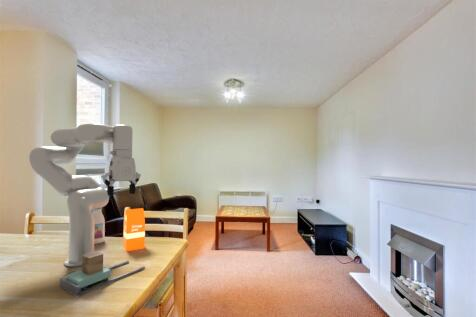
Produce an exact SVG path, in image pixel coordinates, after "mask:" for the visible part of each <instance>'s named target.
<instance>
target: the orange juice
mask: <svg viewBox="0 0 476 317" xmlns="http://www.w3.org/2000/svg"><path fill="white" fill-rule="evenodd" d="M144 211H145V210H144V207H142V208H139V207H138V208H130V209H125V212H124V220H123V248H124V250H125V251H126V252H129V251H130V252H131V251H135V250H143V249H145V242H146V241H145V239H146V219H145V212H144Z"/></svg>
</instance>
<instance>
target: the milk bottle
mask: <svg viewBox="0 0 476 317" xmlns="http://www.w3.org/2000/svg"><path fill="white" fill-rule="evenodd" d="M102 210H103V207H101V208H97V209H92V212H91V213H92V215H93V216H94V220H95V230H94V245H96V244H97V245H98V244H101V243H104V242H105V239H106V238H105V236H106V235H105V232H106V228H105V226H106V225H105V224H106V222H105V221H106V220H105V217H104V215H103V213H102Z"/></svg>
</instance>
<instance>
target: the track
mask: <svg viewBox="0 0 476 317" xmlns="http://www.w3.org/2000/svg"><path fill="white" fill-rule="evenodd" d="M129 263H130V261H129V260H125V261H122V262H120V263H117V264H114V265H110V266H109V267H106V268H107V269H110V270H111V271H112V269H116V268H119V267H122V266H124V265H127V264H129ZM145 269H146V267H145V266H141V267H138V268H135V269H133V270H131V271H128V272H125V273H122V274H121V275H118V276H115V277H112V278H111V279H108V280H107V281H105V282H102V281H101V282H100V283H98V284H95V285H93V286H90V287H86V289H85V290H82V291H81V286H80V285H78V284H77V283H75V282H73V281H71V280H69V279H67V278H66V276H63V277H60V278H59V287H60V288H61V289H63V290H65V291H66V292H68V293H69V294H72V295H73V296H74V297H79V296H81V295H85V294H87V293H89V292H92V291H94V290H96V289H99V288H101V287H103V286H107V285H109V284H112V283H113V282H116V281H118V280H121V279H123V278H126V277H128V276H131V275H134V274H135V273H138V272H141V271H143V270H145Z"/></svg>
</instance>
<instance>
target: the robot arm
mask: <svg viewBox="0 0 476 317" xmlns="http://www.w3.org/2000/svg"><path fill="white" fill-rule="evenodd" d="M133 133H134V132H133V127H132V126H130V125H126V124H116V125H114V126H112V125H109V124H108V125H107V124H102V123H83V124H80V125H78V126H75V127H67V128H66V127H65V128H58V129H55V130H54V131H53V132H52V133H51V135H50V141H51V143H53V144H54V145H56V146H47V145H44V146H43V145H42V146H37V147H35V148H33V149H31V151H30V152H29V154H28V155H29V157H28V159H29V163H30V166H31V168H32V169H33V171H34V172H35V173H36V174H37V175H38V176H40V177H41V178H42V179H44V180H45V181H46V182H47V183H48V184H49V185H50V186H51V187H52V188H53V189H54V190H55V191H56V192H57V193H58V194H59V195H61V196H63V197H67V198H66V199H67V200H66V205H67V211H68V217H69V218H68V219H69V225H68V226H69V228H68V229H69V230H68V231H69V232H68V258H66V259H65V260H64V261H63V264H64V266H66V267H70V268H71V267H72V268H73V267H82V255H85V254H88V253H92V252H95V244H94V230H95V220H94V216H93V215H92V213H93V212H92V211H93V209H97V208H101V207H102V208H103V207H106V206H107V204H108V203H109V202H110V201H109V200H110V197H114V195H115V194H114V193H115V187H114V184H115V183H116V182H129V183H130V184H129V188H128V192H129V194H131V195H135V194H136V185H137V184H138V182H140V178H141V176H142V174H140V173H139V172H137V171H136V170H137V168H136V160H135V158H134V157H133ZM90 142H95V143H97V142H98V143H106V144H112V150H110V151H109V155H111V156H112V157H111V158H110V161H109V166H108V171H107V172H106V173H105V172H104V174H102V175H100V178H101V179H102V182H103V183H104V184H105V186H106V188H107V190H106V189H105V188H104V187H103V186H102V185H101V184H99V183H98V181H96V180H95V179H94V178H93V177H91V176H89V175H83V174H82V175H80V174H79V175H74V174H70V173H69V172H68V171H67V170H66V169H65V168H64V167H62V166H60V165H68V164H71V163H72V162H73V161H74V160H75V159H76V157H77V156H78V155H79V154H80V153H81V151H82V150H83V149H84V148H85V146H87V145H89V143H90Z"/></svg>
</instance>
